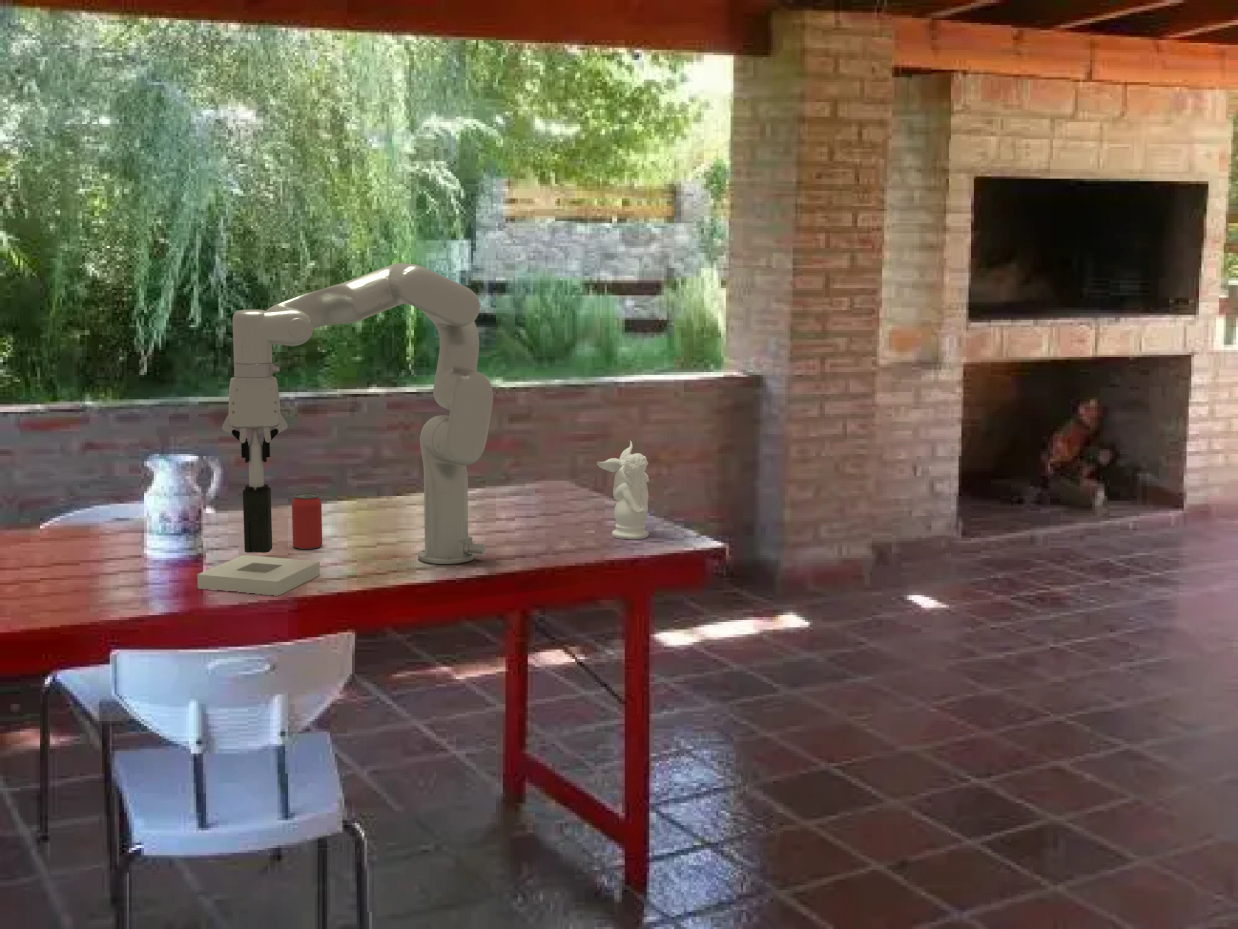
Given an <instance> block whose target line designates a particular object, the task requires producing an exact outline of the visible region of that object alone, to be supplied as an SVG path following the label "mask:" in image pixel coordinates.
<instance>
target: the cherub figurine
mask: <svg viewBox="0 0 1238 929" xmlns="http://www.w3.org/2000/svg"><path fill="white" fill-rule="evenodd" d="M633 448H634V446H633V441H631V440H629V447H627V448H625V449H624V450H623V451H622V452H621V454H620V456H619V458H616V457H614V458H613V457H611V458H607V459H606V460H605V461H597V462H596V466H597V467H599V468H600V469H603V470H604V471H607V472H611V473H615V475H614V478H613V488H612V494H613V498H614V500H615V501H616V504H615V507H614V510H613V514H614V519H615V521H616V523H615V525H614V526H615V528H616V529H613V530H612V532H611V534H612V535H611V536H612V537H613V538H616V539H620V540H621V539H622V540H625V539H628V540H644V539H646V538H648V536H649V535H650V534H649V531H647V530H645V528H646V527H647V526H646V524H645V522H646V520H647V518H648V511H649V506H648V503H649V494H650V493H649V491H648V484H647V483H649V482H650V479H649V475H648V474H647V472H646V471H647V466H648V465H649V462H648V459H647V456H645V455H643V454H642V453H640V452H638V453H636V452H635V453H632V450H633Z"/></svg>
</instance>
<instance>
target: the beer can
mask: <svg viewBox="0 0 1238 929" xmlns="http://www.w3.org/2000/svg"><path fill="white" fill-rule="evenodd" d="M322 512H323V511H322V501H321V499H320V495H319V493H317V492H315V493H314V492H301V493H300V492H299V493H296V494H294V495H293V500H292V504H291V517H292V518H291V523H292V526H291V527H292V546H293V548H295V549H297V548H298V550H303V549H309V550H315V548H316V549H319V548H320V547H322V546H323V518H322V517H323V514H322Z"/></svg>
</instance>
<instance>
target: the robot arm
mask: <svg viewBox="0 0 1238 929" xmlns="http://www.w3.org/2000/svg"><path fill="white" fill-rule="evenodd" d="M480 304H481V303H480V300H479V298H478V296H477V294H476V293H475V292H474V291H473V290H472V289H471V288H468V287H467V286H465V285H463V284H460V283H459V282H457V281H454V280H452V279H450V278H448V277H446V276H443V275H441V274H440V273H437V272H436V271H434V270H431V269H429V268H427V267H424V266H422V265H419V264H414V263H407V262H406V263H405V262H396V263H393V264H389V265H387V266H384V267H381V268H378V269H376V270H374V271H370V272H369V273H366V274H363V275H361V276H358V277H354V278H353V279H350V280H347V281H344V282H341V283H338V284H334V285H331V286H327V287H324V288H322V289H317V290H315V291H310V292H308V293H304V294H302V295H298V296H295V297H293V298H290V299H288V300H285V301H283V302H279V303H277V304H275V305H273V306H271V307H269V308H268V309H266V310H264V309H240V310H237V311H235V312H234V314H233V315H232V339H233V340H232V341H233V342H232V343H233V368H234V370H233V372H234V373H233V376H234V377H231V378H230V381H229V387H228V414H227V416H226V418H225V419H224V422H223V424H222V426H221V429H222V431H224V432H226V433H227V434H230V435H232V436H233V437H235V439H236V440H238V441H239V442H240V448H241V449H240V450H241V459H244V463H245V464H246V463H248V464H249V451H248V446H249V441H248V438H247V428H248V429H250V428H251V429H252V428H257V429H258V428H263V435H264V437H263V441H262V446H263V463H267V458H271V446H270V445H271V444H270V443H271V441H272V440H273V439H274V438H275V437H276V436H277V435H278V434H280V433H282V432H284V431H286V430H287V429H288V427H289V426H288V423H287V422H286V420H285V418H284V417H283V415H282V413H281V405H280V404H281V402H280V400H281V399H280V392H279V384H278V379H277V377H276V376H274V374H275V373H276V372H277V373H280V364H278V365H276V364H274V363H273V345H279V346H288V347H295V346H300V345H303V344H306V342H308V341H309V340H310V338H311V337H312V334H313V332H314V329H316V328H317V329H318V328H320V327H321V328H322V327H325V326H329V325H330V326H331V325H341V324H342V325H343V324H344V325H346V324H352V323H355V322H356V323H357V322H361V321H363V320H365V319H368V318H370V317H372V316H375V315H378V314H380V313H382V312H386V311H388V310H391V309H394V308H395V307H398V306H402V305H409V306H413V307H415V309H416V308H417V309H419V310H421V311H423V312H424V314H425V316H426V317H427V318H428V319H429V320H430V321H431V322H432V323H433V325H434V326H435V328H436V331H437V332H438V337H439V350H438V360H437V365H436V370H435V371H436V372H435V376H434V383H433V389H432V393H433V398H434V400H435V402H436V403H437V405H439V406H440V407H441V408H444V409H445V410H449V415H446V414H445V415H444V414H443V415H442V414H441V415H435V416H433V417H431V418H430V419H428V420H427V421H426V422H425V423H424V425H423V426H422V428H421V431H420V435H419V445H420V446H419V447H420V454H421V457H422V458H421V459H422V465H423V466H422V467H423V483H424V484H423V485H424V486H423V487H424V488H423V491H424V492H423V493H424V494H423V496H424V497H423V499H424V500H423V506H424V510H423V512H424V519H423V520H424V549H422V550H420V551H419V552H418V553H417V559H418V560H419V561H421V562H424V563H427V564H435V565H437V564H438V565H454V564H455V565H456V564H462V563H467V562H471V561H473V560H474V559H475V558H476V555H477V554H478V555H484V554H485V552H486V546H485V544H483V543H475V542H473V536H469V496H468V495H469V478H468V469H467V466H469V465H472V464H474V463H476V462H477V461H478V460H479V459H480V458H481V457H482V454H483V453H484V451H485V448H486V444H487V440H488V435H489V428H490V423H491V416H492V411H493V410H492V409H493V404H494V392H493V387H492V384H491V381H489V379H488V377H486V376H485V374H483V373H481V372H479V371H478V370H477V369H478V362H479V353H480V335H479V331H478V327H477V325H476V322H475V321H476V320H477V318H478V316H479V313H480V311H481V310H480V309H481V305H480ZM271 428H272V429H271ZM238 429H239V430H238Z"/></svg>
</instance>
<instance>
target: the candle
mask: <svg viewBox="0 0 1238 929" xmlns="http://www.w3.org/2000/svg"><path fill="white" fill-rule="evenodd" d="M252 433H253V434H252V437H251V441H250V443H248V451H249V462H248V484H246V485H245V487H244V489H243V490H242V507H243V508H242V509H243V510H242V515H243V537H244V538H243V540H244V541H243V543H244V552H245V553H249V554H250V553H251V554H252V553H255V554H256V553H257V554H258V553H260V554H265V553H269V552H271V550H272V549H273V526H272V525H273V524H272V520H273V519H272V491H271V490H272V489H271V487H270V486H269V485H268V484H265V476H264V473H265V472H264V462H263V443H261V441H260V440H259V435H258V434H257V433H258V430H256V429H254V430H253V431H252Z"/></svg>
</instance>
